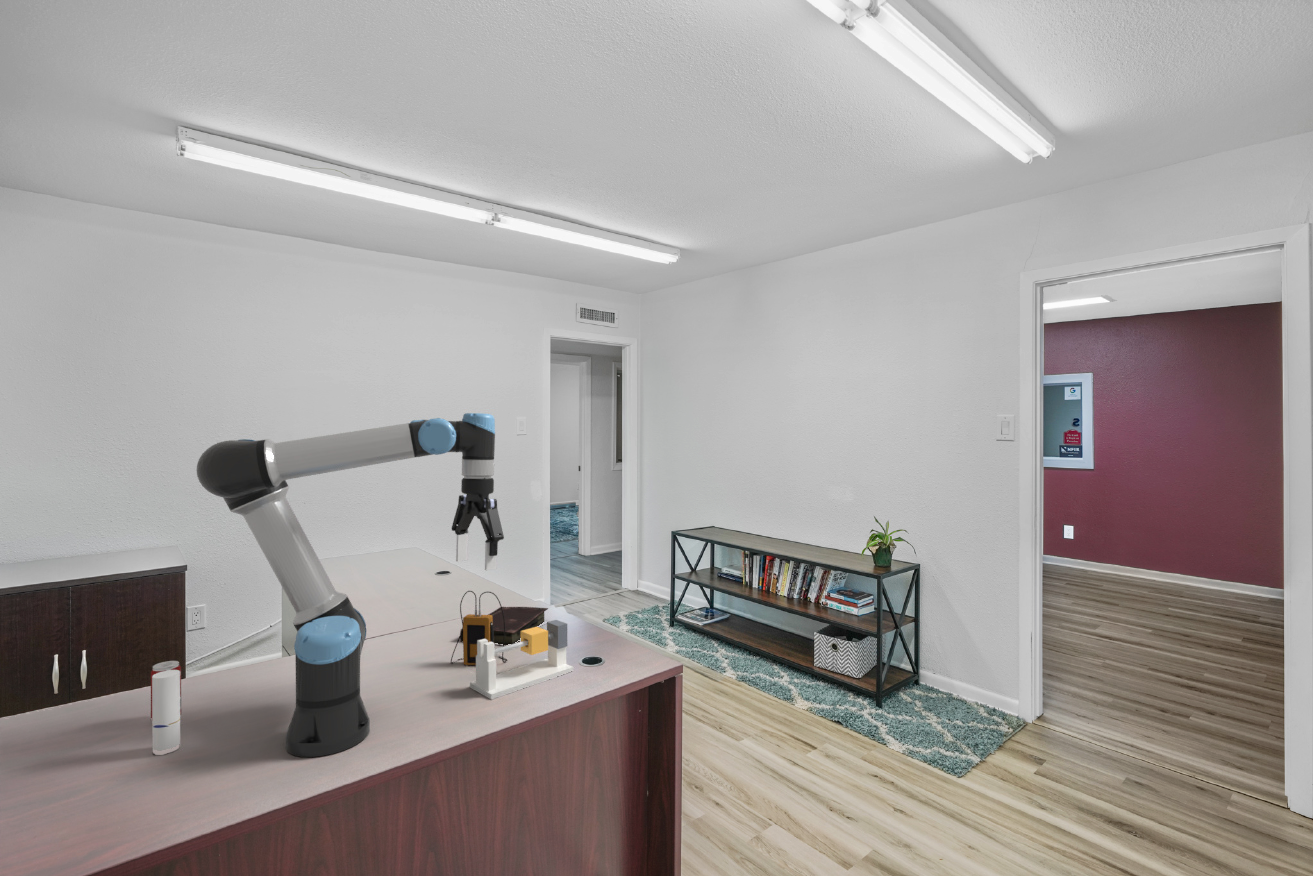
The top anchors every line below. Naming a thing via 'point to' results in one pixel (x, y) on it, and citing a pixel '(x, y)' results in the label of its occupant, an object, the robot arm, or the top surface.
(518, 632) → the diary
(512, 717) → the top surface
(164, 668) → the soda can
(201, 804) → the top surface
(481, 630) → the multimeter
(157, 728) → the tube
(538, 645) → the cube with square hole
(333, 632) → the robot arm
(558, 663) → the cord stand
